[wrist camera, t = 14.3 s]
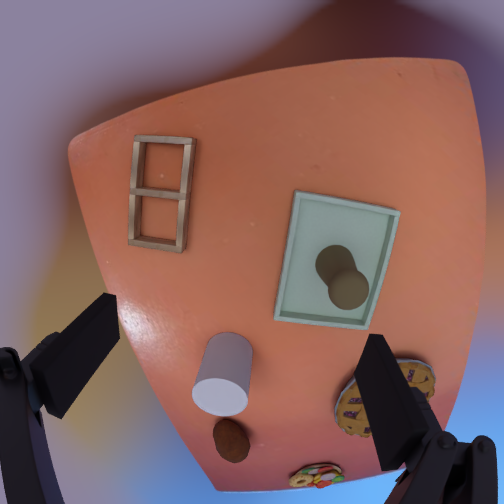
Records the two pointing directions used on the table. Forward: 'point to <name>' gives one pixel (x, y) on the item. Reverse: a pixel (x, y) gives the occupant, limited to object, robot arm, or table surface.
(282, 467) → the table surface
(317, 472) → the toy food set
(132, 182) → the two-slot wooden frame
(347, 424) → the pie
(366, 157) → the table surface
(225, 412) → the cup
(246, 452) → the potato
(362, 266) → the tray
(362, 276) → the brown pawn
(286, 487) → the table surface
